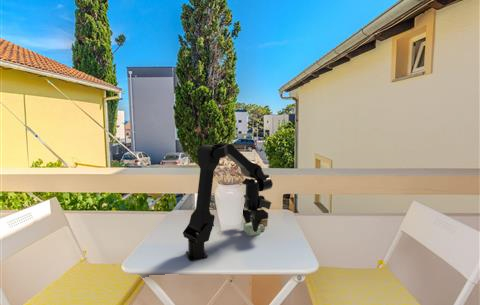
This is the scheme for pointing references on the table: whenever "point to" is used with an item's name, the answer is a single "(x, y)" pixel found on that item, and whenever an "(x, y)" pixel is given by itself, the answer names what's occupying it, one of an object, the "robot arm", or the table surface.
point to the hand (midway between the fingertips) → (251, 228)
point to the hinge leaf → (249, 229)
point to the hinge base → (263, 222)
